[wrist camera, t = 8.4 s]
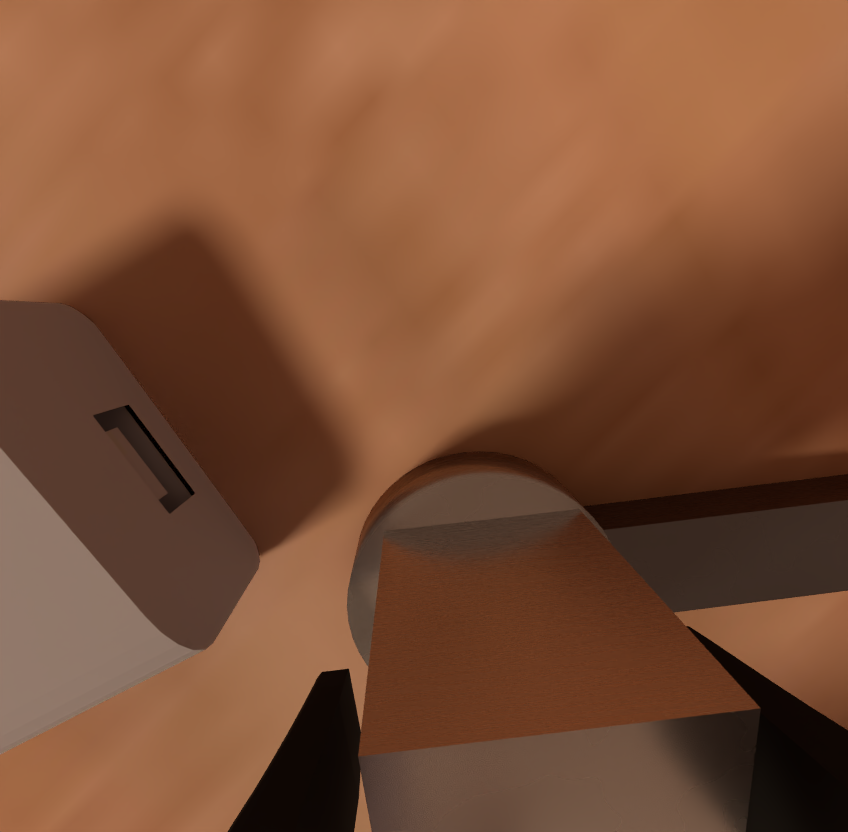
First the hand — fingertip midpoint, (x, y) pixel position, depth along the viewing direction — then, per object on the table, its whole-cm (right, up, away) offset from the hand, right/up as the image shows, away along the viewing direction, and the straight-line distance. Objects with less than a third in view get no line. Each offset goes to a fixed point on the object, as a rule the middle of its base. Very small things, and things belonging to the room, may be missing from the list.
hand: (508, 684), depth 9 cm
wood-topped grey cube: (0, +1, +3) cm, 3 cm away
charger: (-16, +2, +4) cm, 17 cm away
